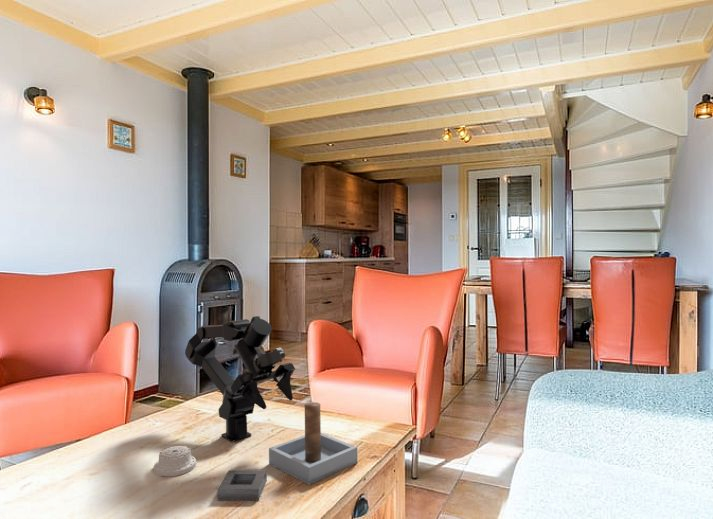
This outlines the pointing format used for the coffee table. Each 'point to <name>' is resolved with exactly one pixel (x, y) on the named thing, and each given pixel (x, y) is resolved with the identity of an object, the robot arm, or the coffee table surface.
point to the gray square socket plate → (242, 485)
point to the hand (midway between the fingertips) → (278, 403)
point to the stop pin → (312, 432)
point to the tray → (332, 461)
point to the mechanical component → (174, 461)
